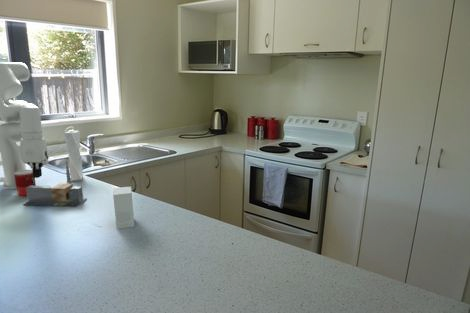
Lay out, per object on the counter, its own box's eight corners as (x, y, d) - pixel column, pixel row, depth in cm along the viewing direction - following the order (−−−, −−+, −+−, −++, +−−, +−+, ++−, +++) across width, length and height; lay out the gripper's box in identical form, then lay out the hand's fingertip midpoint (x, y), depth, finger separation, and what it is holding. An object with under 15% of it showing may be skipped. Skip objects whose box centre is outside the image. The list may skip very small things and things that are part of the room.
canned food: (31, 197, 157) (27, 174, 155) (13, 197, 157) (9, 174, 155) (40, 191, 165) (37, 169, 162) (24, 191, 165) (20, 169, 162)
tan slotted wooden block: (52, 200, 147) (50, 188, 146) (61, 195, 153) (59, 183, 152) (65, 201, 146) (64, 188, 145) (74, 195, 152) (72, 184, 151)
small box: (116, 220, 131) (113, 187, 128) (134, 218, 133) (131, 186, 130) (116, 229, 123) (112, 194, 121) (134, 226, 125) (131, 192, 122)
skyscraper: (69, 178, 186) (63, 126, 180) (85, 176, 189) (79, 125, 182) (66, 182, 179) (60, 128, 172) (83, 181, 181) (78, 128, 175)
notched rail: (23, 205, 147) (21, 189, 146) (37, 198, 156) (35, 183, 154) (76, 207, 145) (74, 191, 143) (87, 199, 154) (85, 184, 152)
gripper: (9, 136, 143) (15, 178, 148) (43, 138, 142) (48, 180, 146) (22, 133, 150) (27, 173, 155) (54, 134, 149) (59, 175, 154)
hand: (37, 176), depth 151 cm, fingers closed
